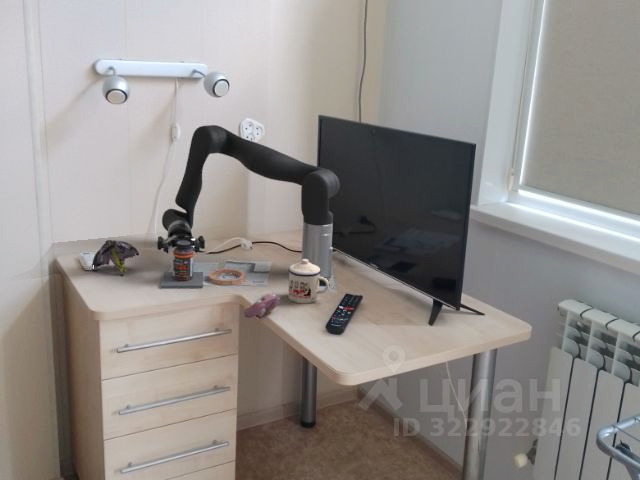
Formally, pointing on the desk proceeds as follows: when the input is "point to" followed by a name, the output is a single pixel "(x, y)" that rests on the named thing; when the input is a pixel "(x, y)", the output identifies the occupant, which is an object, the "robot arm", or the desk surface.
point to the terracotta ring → (226, 282)
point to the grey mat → (172, 283)
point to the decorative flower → (114, 254)
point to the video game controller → (263, 306)
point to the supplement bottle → (183, 261)
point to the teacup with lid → (305, 282)
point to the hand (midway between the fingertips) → (182, 249)
